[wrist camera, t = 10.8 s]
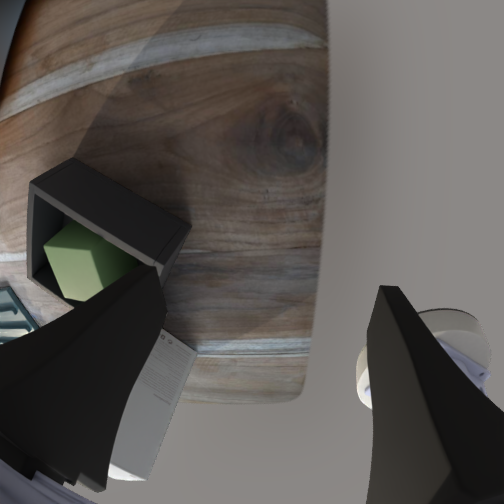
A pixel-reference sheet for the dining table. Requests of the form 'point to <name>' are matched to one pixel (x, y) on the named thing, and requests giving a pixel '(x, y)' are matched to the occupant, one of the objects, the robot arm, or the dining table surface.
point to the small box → (150, 408)
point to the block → (85, 261)
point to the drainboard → (13, 317)
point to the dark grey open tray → (97, 222)
